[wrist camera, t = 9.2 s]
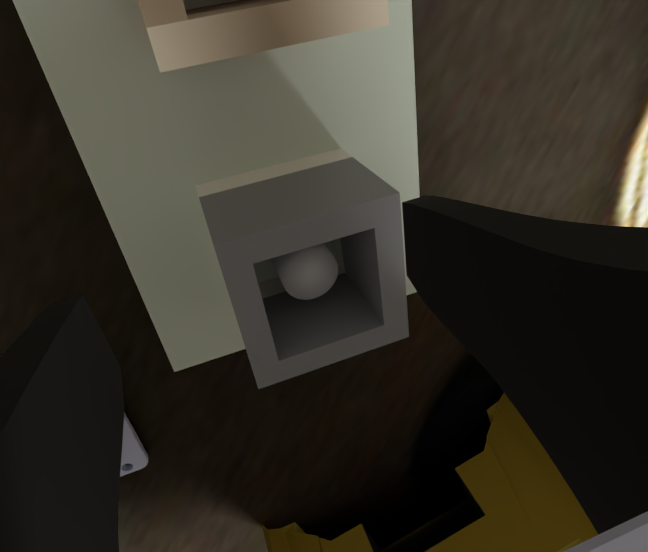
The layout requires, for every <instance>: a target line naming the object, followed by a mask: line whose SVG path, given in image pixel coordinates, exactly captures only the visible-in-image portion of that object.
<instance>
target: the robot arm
mask: <svg viewBox="0 0 648 552" xmlns="http://www.w3.org/2000/svg"><path fill="white" fill-rule="evenodd" d="M402 210H403V226H404V242H405V258H406V273H407V277H408V278H409V280H410V281H411V283H412V284H413V286H414V288H415V289H416V291H417V292H418V294H419V295H420V296H421V298H422V299H423V301H424V302H425V304H426V305H427V306H428V307H429V308H430V310H431V311H432V312H433V313H434V314H435V315H436V316H437V317H438V318H439V320H440V321H441V322H442V323H443V324H444V325H445V326H446V327H447V328H448V329H449V330H450V331H451V333H452V334H453V335H454V336H455V337H456V338H457V339H458V340H459V341H460V342H461V343H462V344H463V345H464V346H465V348H466V349H467V350H468V351H469V352H470V353H471V354H472V355H473V356H474V357H475V358H476V359H477V360H478V361H479V363H480V364H481V365H482V366H483V367H484V368H485V369H486V370H487V372H488V373H489V374H490V375H491V376H492V377H493V379H494V380H495V381H496V382H497V384H498V385H499V386H500V388H501V389H502V390H503V392H504V393H505V394H506V396H507V397H508V398H509V400H510V401H511V402H512V404H513V405H514V406H515V408H516V409H517V411H518V412H519V413H520V415H521V416H522V417H523V419H524V420H525V422H526V423H527V425H528V426H529V427H530V429H531V430H532V432H533V433H534V435H535V436H536V438H537V439H538V440H539V442H540V443H541V445H542V446H543V448H544V449H545V450H546V452H547V454H548V455H549V457H550V458H551V460H552V461H553V463H554V464H555V466H556V467H557V469H558V470H559V472H560V474H561V475H562V477H563V478H564V480H565V481H566V483H567V484H568V486H569V487H570V489H571V490H572V492H573V494H574V495H575V497H576V498H577V500H578V502H579V503H580V505H581V507H582V508H583V510H584V512H585V513H586V515H587V517H588V518H589V520H590V521H591V523H592V525H593V526H594V528H595V530H596V531H597V533H598V535H597V536H595V537H593V538H591V539H589V540H586V541H584V542H582V543H580V544H578V545H576V546H574V547H572V548H570V549H568V550H566V551H563V552H648V228H644V227H620V226H605V225H595V224H585V223H575V222H567V221H560V220H553V219H547V218H541V217H535V216H529V215H524V214H519V213H514V212H509V211H504V210H499V209H494V208H490V207H485V206H481V205H476V204H472V203H467V202H463V201H458V200H453V199H448V198H443V197H436V196H422V197H419V198H415V199H412V200H408V201H405V202H402ZM128 463H129V464H128ZM125 464H128V465H125ZM147 464H148V454H147V452H146V450H145V449H144V447H143V445H142V443H141V441H140V440H139V438H138V436H137V434H136V432H135V430H134V429H133V427H132V425H131V423H130V421H129V419H128V418H127V416H126V414H125V412H124V395H123V384H122V374H121V367H120V365H119V363H118V361H117V359H116V357H115V355H114V353H113V351H112V349H111V347H110V345H109V343H108V342H107V340H106V338H105V336H104V334H103V332H102V330H101V328H100V326H99V324H98V322H97V320H96V318H95V316H94V314H93V312H92V310H91V309H90V307H89V305H88V303H87V301H86V299H85V297H84V295H80V296H76V297H73V298H69V299H66V300H62V301H59V302H55V303H52V304H51V305H50V306H49V307H47V308H46V309H45V310H44V311H43V312H42V313H41V314H40V315H39V316H38V317H37V318H36V319H35V320H34V322H33V323H32V324H31V325H30V326H29V327H28V328H27V329H26V330H25V331H24V332H23V334H22V335H21V336H20V337H19V338H18V339H17V340H16V341H15V342H14V343H13V344H12V345H11V347H10V348H9V349H8V350H7V351H6V352H5V353H4V354H3V355H2V356H1V357H0V552H119V545H118V499H119V485H120V477H121V476H124V475H126V474H129V473H132V472H135V471H137V470H140V469H142V468H144V467H145V466H146V465H147Z"/></svg>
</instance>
